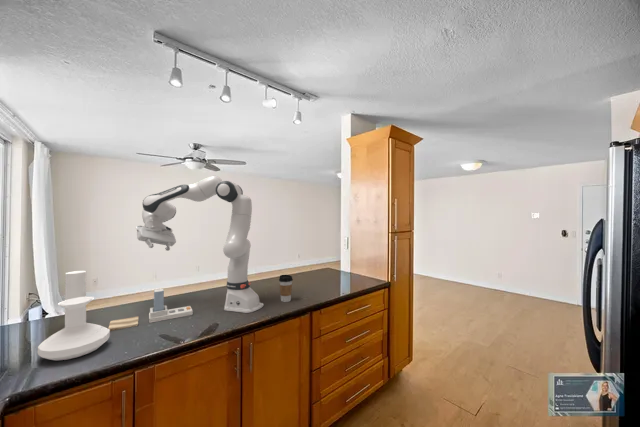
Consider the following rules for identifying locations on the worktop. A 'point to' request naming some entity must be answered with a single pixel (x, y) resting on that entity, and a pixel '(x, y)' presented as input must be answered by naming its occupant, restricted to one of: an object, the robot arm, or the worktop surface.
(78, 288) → the cylindrical container
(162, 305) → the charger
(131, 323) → the oak pad
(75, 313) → the candle holder
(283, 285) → the coffee cup
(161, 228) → the robot arm
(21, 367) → the worktop surface
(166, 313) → the power strip
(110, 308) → the worktop surface
